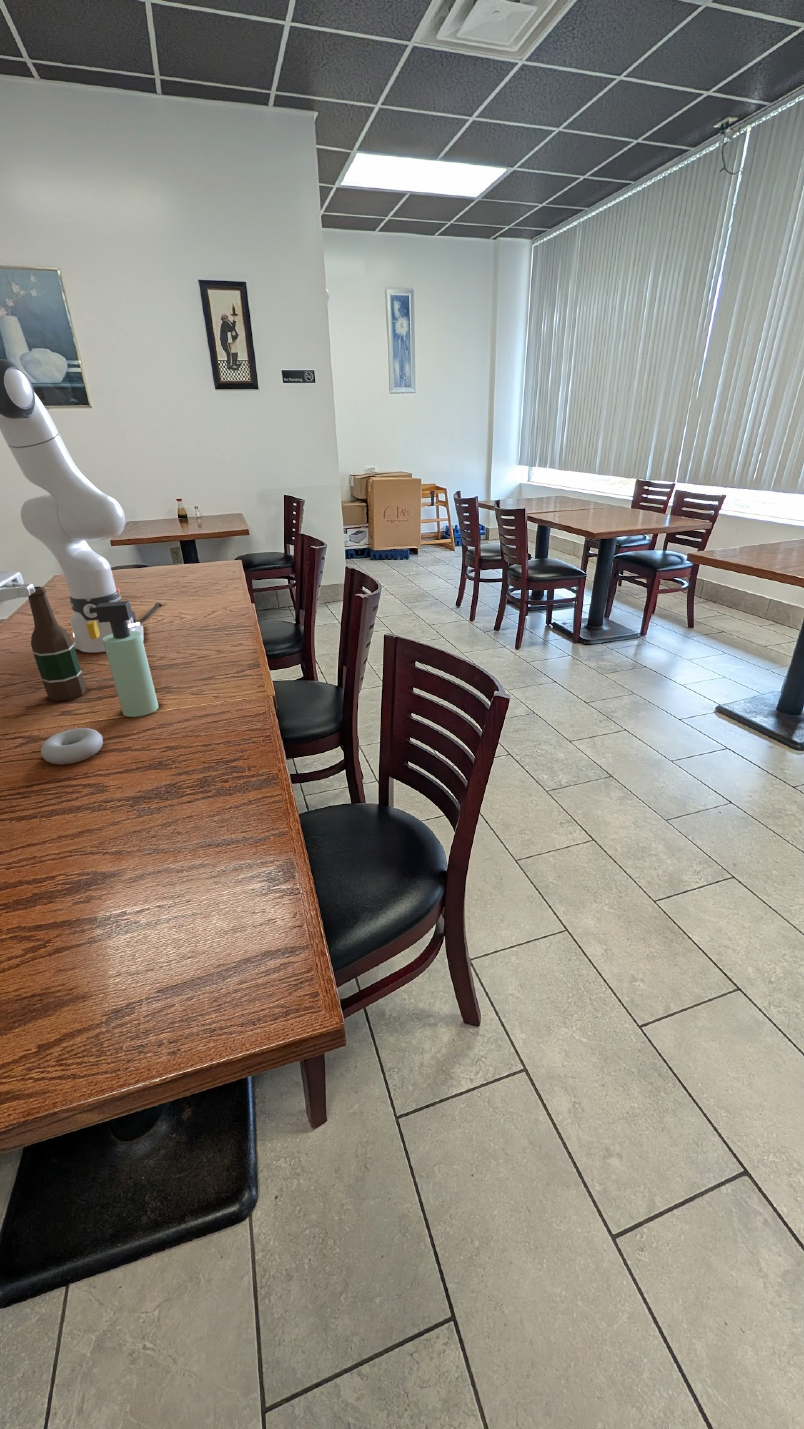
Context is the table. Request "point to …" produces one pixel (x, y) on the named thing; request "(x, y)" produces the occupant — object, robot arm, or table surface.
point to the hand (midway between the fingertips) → (31, 589)
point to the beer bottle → (54, 652)
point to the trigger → (93, 629)
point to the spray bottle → (127, 660)
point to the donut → (71, 746)
